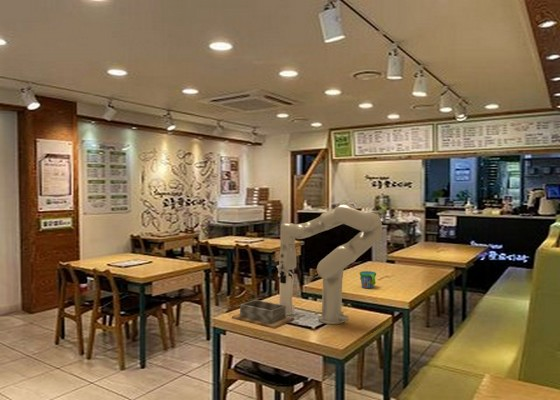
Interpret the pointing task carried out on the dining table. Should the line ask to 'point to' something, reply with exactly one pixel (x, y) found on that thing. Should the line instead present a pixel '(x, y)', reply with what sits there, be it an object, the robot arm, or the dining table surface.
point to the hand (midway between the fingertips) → (287, 281)
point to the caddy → (263, 314)
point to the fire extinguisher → (287, 293)
